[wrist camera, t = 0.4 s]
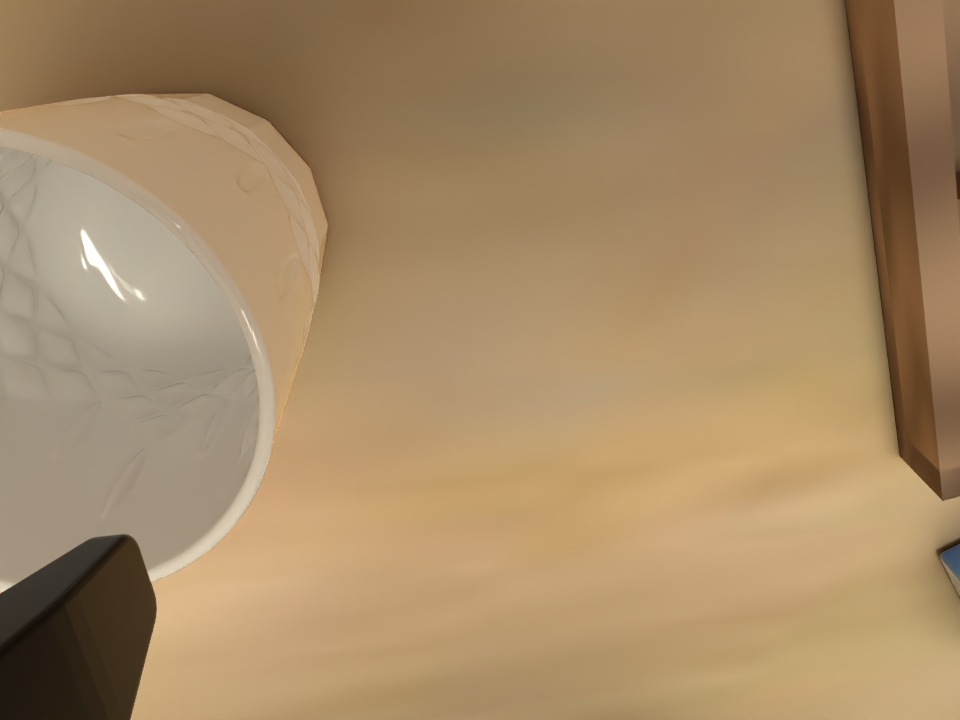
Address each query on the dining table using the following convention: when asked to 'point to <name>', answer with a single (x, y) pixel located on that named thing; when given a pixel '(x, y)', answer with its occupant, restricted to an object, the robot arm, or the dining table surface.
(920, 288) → the tray
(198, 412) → the white cup
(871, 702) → the dining table surface
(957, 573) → the medicine box
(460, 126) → the dining table surface
